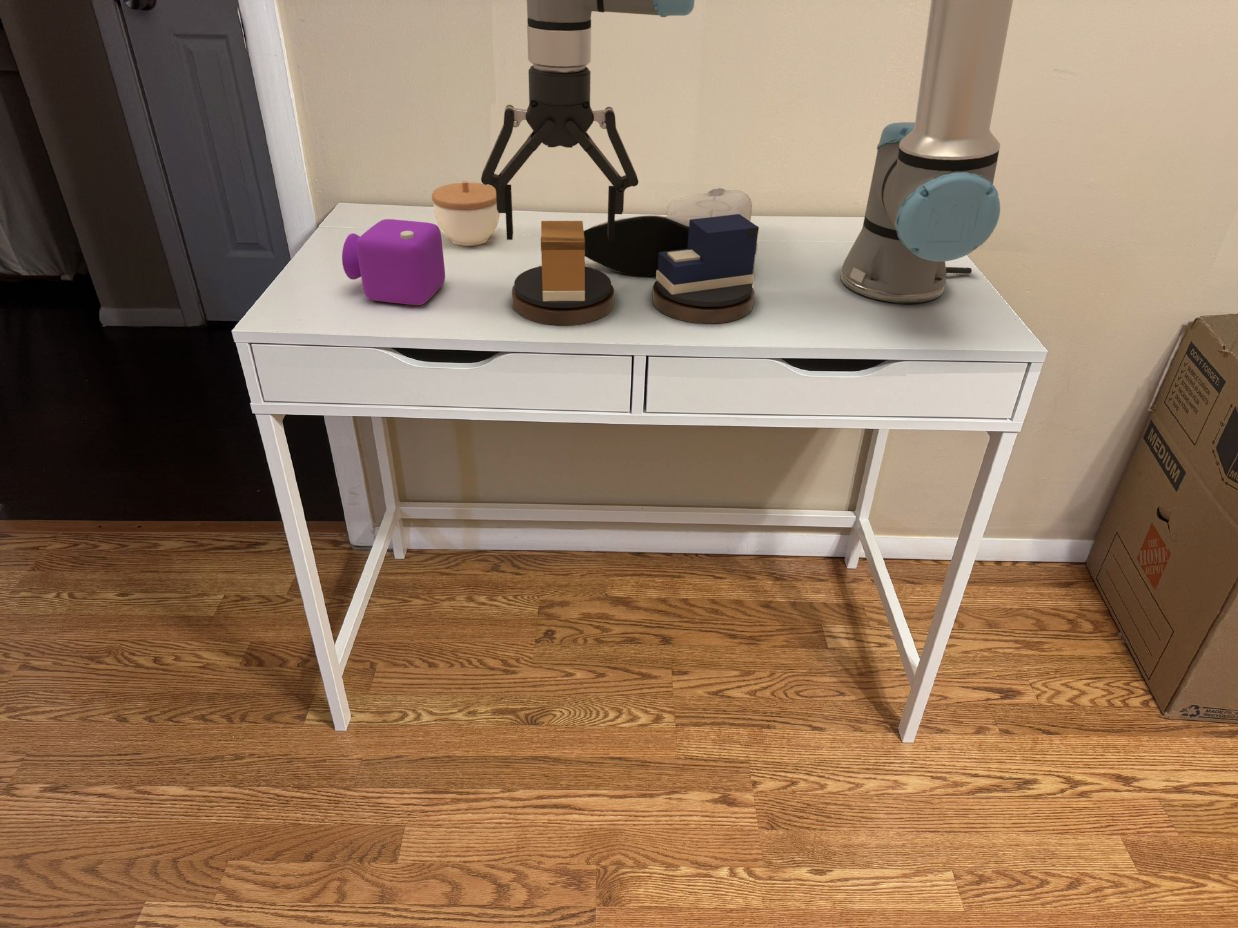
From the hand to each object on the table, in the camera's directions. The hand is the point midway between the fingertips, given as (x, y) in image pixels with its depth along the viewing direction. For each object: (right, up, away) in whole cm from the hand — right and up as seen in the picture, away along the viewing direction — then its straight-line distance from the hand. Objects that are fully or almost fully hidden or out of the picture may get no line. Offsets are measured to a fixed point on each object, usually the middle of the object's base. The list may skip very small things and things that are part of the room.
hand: (560, 237), depth 113 cm
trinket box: (-17, +6, +25) cm, 31 cm away
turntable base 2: (+20, -7, +7) cm, 22 cm away
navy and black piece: (+20, -6, +6) cm, 21 cm away
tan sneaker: (0, -6, +4) cm, 7 cm away
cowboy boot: (+16, +4, +23) cm, 29 cm away
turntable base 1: (0, -8, +6) cm, 10 cm away
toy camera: (-24, -6, +7) cm, 26 cm away
